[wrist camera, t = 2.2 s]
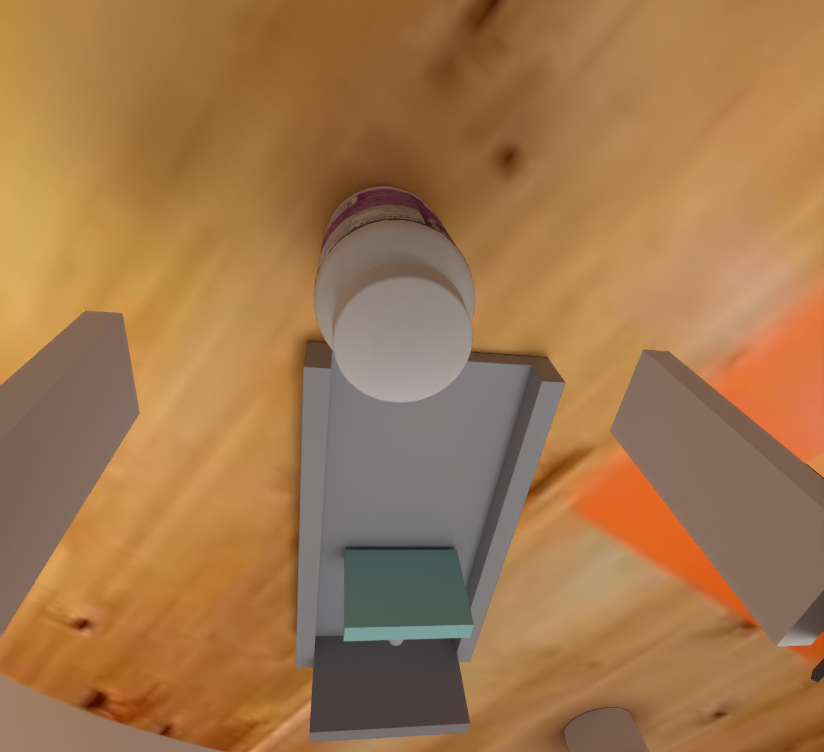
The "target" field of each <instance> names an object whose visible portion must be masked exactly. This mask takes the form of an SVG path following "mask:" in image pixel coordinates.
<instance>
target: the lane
mask: <svg viewBox="0 0 824 752" xmlns="http://www.w3.org/2000/svg"><path fill="white" fill-rule="evenodd" d="M564 386H565V381H564V380H563V378H562V377H561V376H560V374H559V373H558V371H557V370H556V369H555V367H554V366H553V364H552V363H551V362H550V360H549V359H548V358H546V357H532V356H517V355H503V354H488V353H473V352H470V355H469V358H468V361H467V363H466V365H465V366H464V368H463V370H462V371H461V372H460V374H459V375H458V377H457V378H456V379H455V380H454V381H453V382H451V383H450V384H449V385H448V386H447V387H446V388H444V389H443V390H441V391H440V392H438V393H436V394H434V395H432V396H430V397H427V398H425V399H421V400H417V401H413V402H388V401H383V400H379V399H375V398H373V397H370V396H368V395H366V394H364V393H362V392H361V391H360V390H358V389H357V388H355V387H354V386H353V385H352V384H351V383H350V382H349V381H348V380H347V379H346V378H345V377H344V375H343V374H342V372H341V371H340V369H339V366H338V364H337V362H336V359H335V356H334V352H333V350H332V349H331V348H330V346H329V345H328V344H327V342H312V341H307V348H306V354H305V361H304V367H303V406H302V445H301V484H300V523H299V562H298V601H297V640H296V668H313V684H312V701H311V718H310V735H309V742H323V741H339V740H356V739H372V738H388V737H404V736H420V735H437V734H453V733H467V730H468V728H469V725H470V720H469V715H468V709H467V704H466V699H465V693H464V688H463V683H462V677H461V672H460V667H459V662H470V660H471V657H472V654H473V651H474V648H475V645H476V642H477V640H478V637H479V634H480V631H481V628H482V625H483V622H484V619H485V616H486V613H487V610H488V607H489V604H490V602H491V599H492V596H493V593H494V590H495V587H496V584H497V581H498V578H499V575H500V572H501V569H502V567H503V564H504V561H505V558H506V555H507V552H508V549H509V546H510V543H511V540H512V537H513V534H514V532H515V529H516V526H517V523H518V520H519V517H520V514H521V511H522V508H523V505H524V502H525V499H526V496H527V494H528V491H529V488H530V485H531V482H532V479H533V476H534V473H535V470H536V467H537V464H538V461H539V459H540V456H541V453H542V450H543V447H544V444H545V441H546V438H547V435H548V432H549V429H550V426H551V424H552V421H553V418H554V415H555V412H556V409H557V406H558V403H559V400H560V397H561V394H562V391H563V388H564ZM345 550H457V552H458V557H459V561H460V565H461V570H462V574H463V579H464V583H465V587H466V592H467V596H468V600H469V605H470V609H471V614H472V618H473V622H474V626H473V630H472V633H471V636H470V638H440V639H406V640H403V642H402V644H400V645H398V646H394V645H392V644H390V642H389V641H388V640H372V641H343V634H344V559H345Z"/></svg>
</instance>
